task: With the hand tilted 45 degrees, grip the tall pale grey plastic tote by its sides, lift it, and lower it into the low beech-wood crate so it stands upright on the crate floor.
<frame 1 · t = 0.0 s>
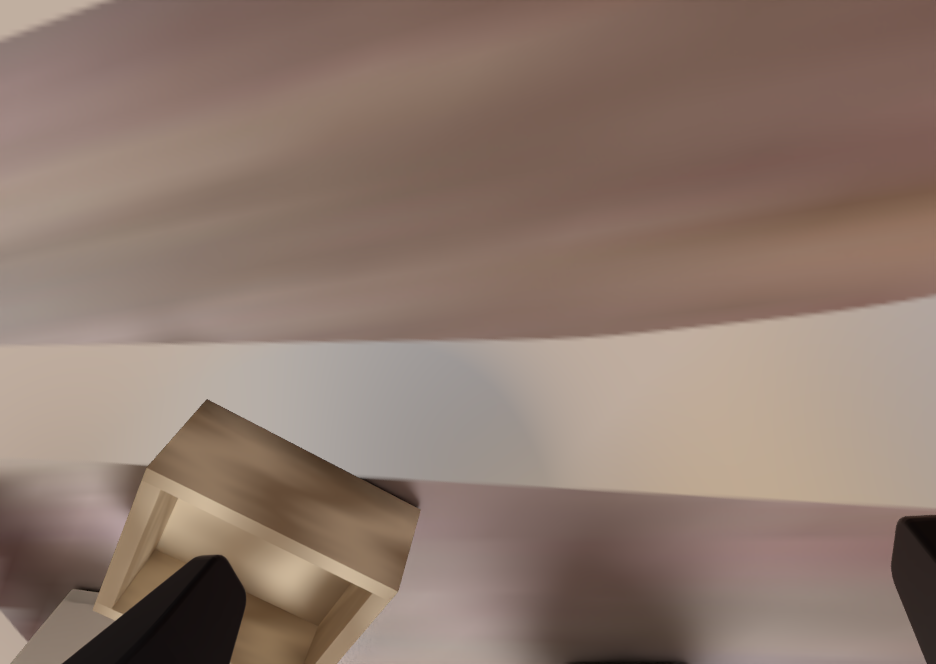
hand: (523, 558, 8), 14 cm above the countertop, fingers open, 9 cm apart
beech crate: (276, 523, 30), on the countertop
grey tote: (136, 629, 37), on the countertop
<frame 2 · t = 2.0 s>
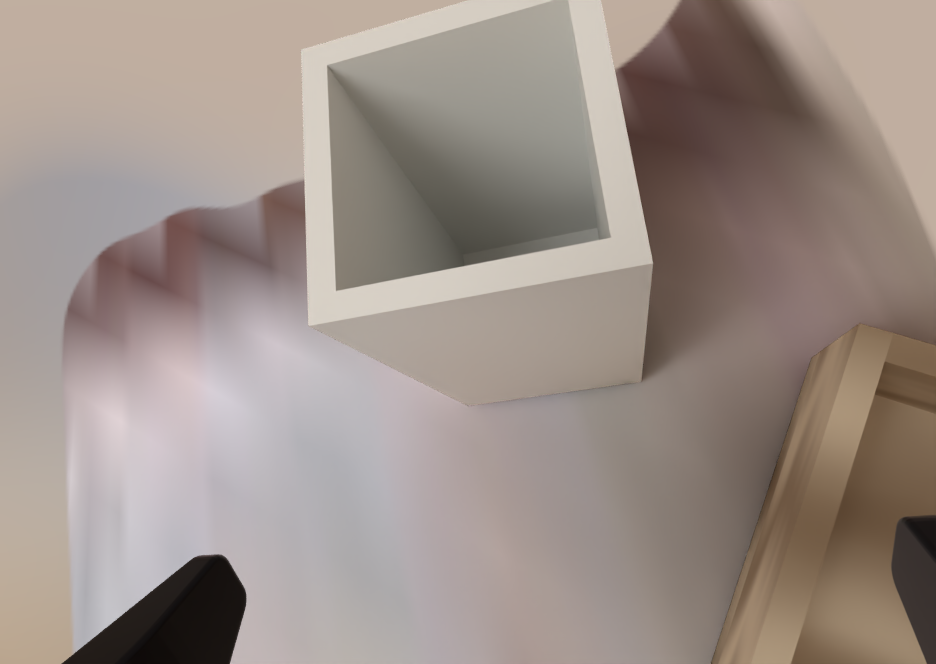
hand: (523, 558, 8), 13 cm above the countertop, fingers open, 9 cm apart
grey tote: (540, 311, 23), on the countertop
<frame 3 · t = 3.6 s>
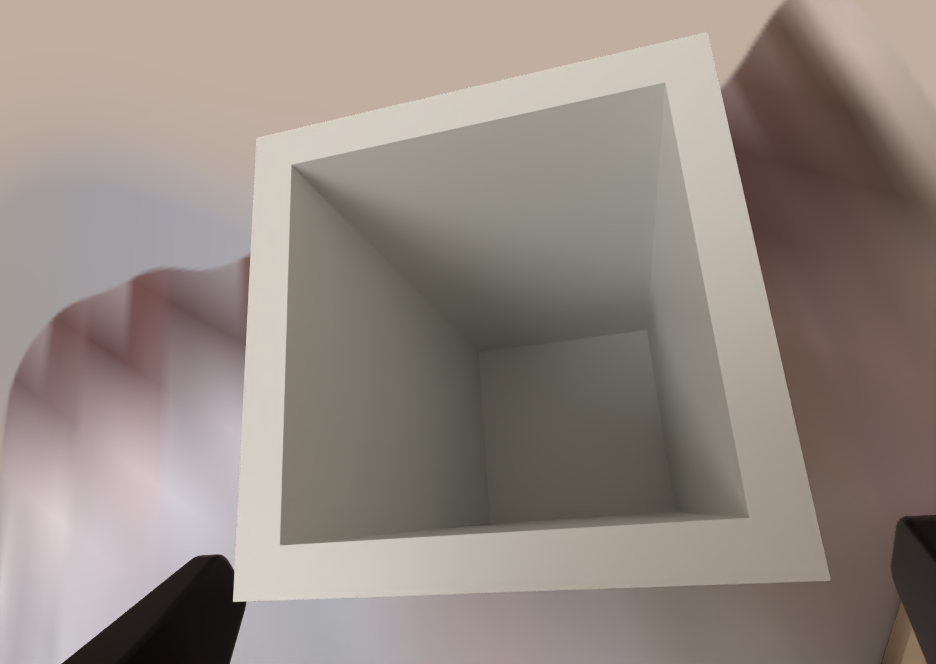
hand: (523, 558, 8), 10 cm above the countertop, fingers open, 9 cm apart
grey tote: (571, 429, 18), on the countertop
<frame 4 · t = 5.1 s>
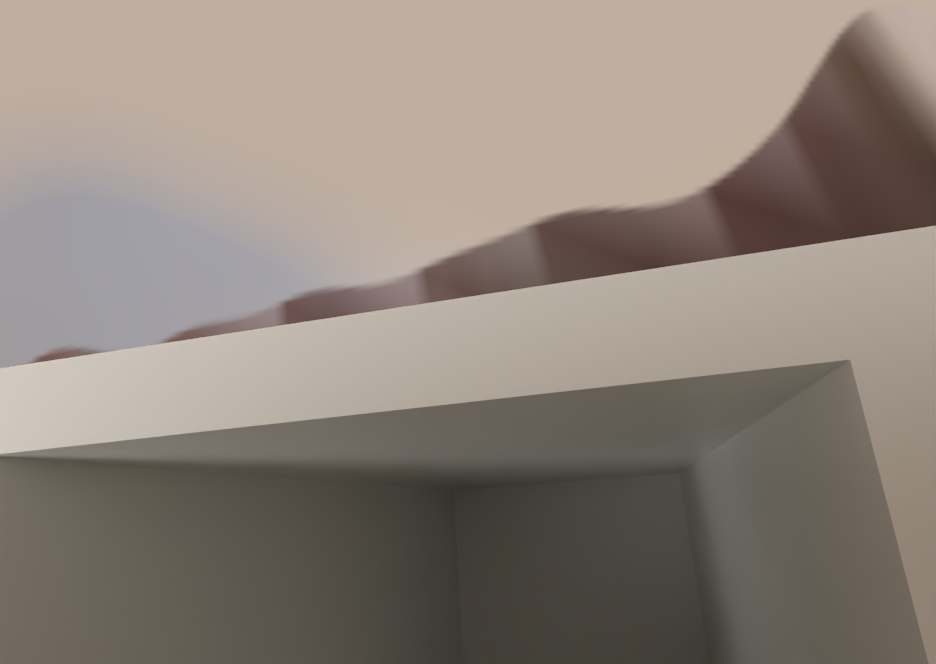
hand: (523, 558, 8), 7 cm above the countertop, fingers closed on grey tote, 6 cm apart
grey tote: (577, 598, 14), on the countertop, touching gripper
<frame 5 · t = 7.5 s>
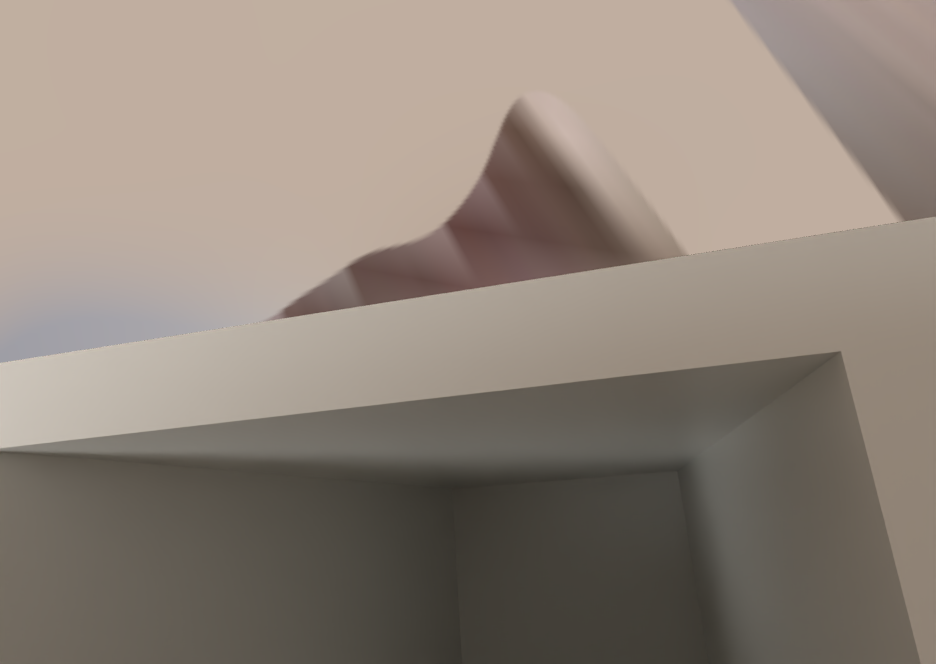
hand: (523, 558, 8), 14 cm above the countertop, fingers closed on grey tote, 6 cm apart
grey tote: (576, 597, 14), point 7 cm above the countertop, touching gripper
when the fingers open (9 cm above the countertop, at t = 9.7 s): grey tote drops 1 cm, resting on beech crate.
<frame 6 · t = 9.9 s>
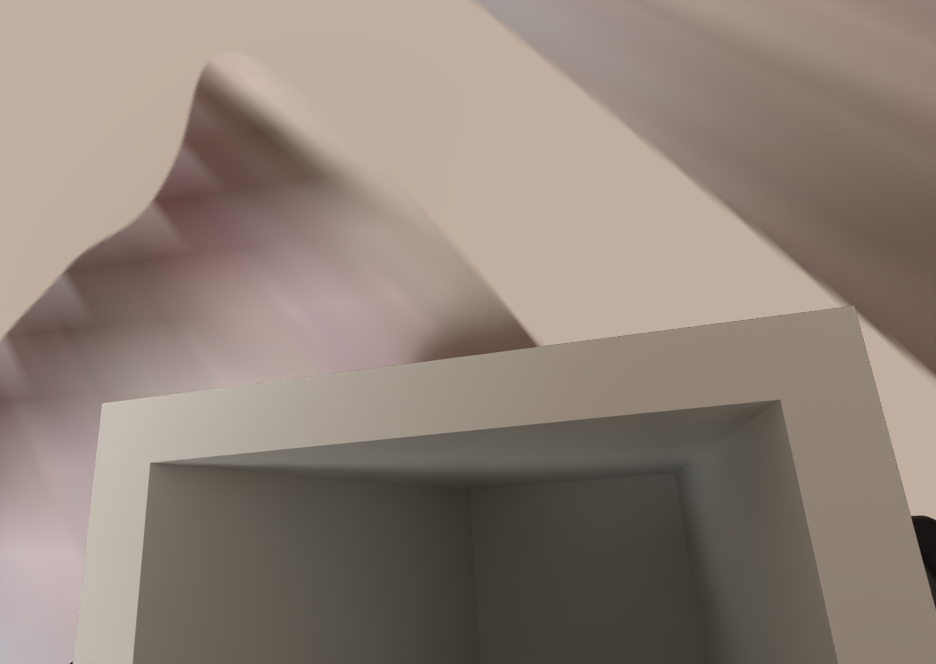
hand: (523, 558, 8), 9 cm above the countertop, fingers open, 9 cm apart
grey tote: (582, 587, 15), point 1 cm above the countertop, touching beech crate
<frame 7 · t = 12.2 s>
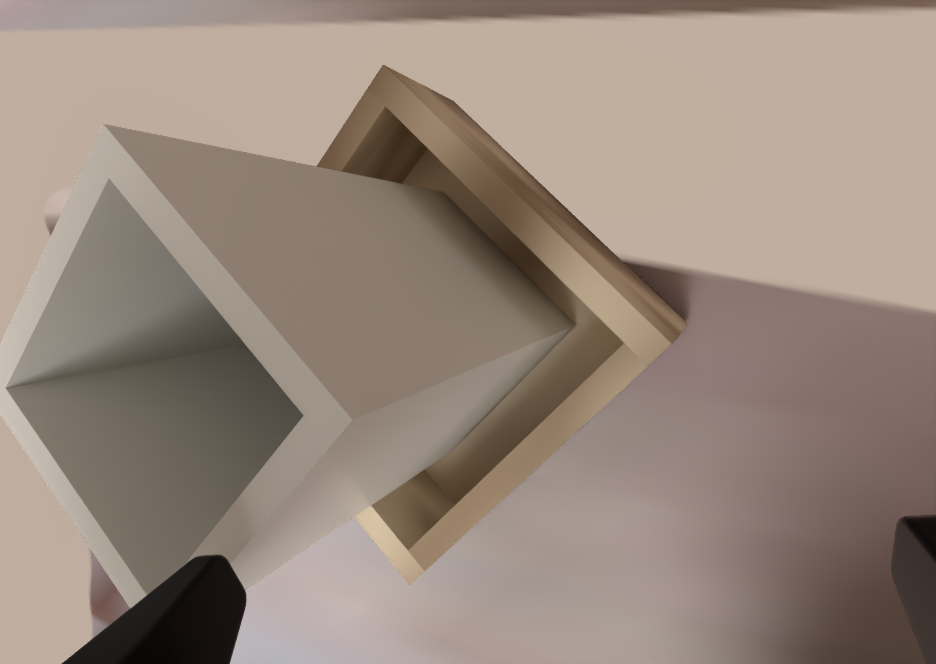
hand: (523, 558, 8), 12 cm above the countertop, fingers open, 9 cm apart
beech crate: (461, 322, 22), on the countertop
grey tote: (449, 323, 21), point 1 cm above the countertop, touching beech crate
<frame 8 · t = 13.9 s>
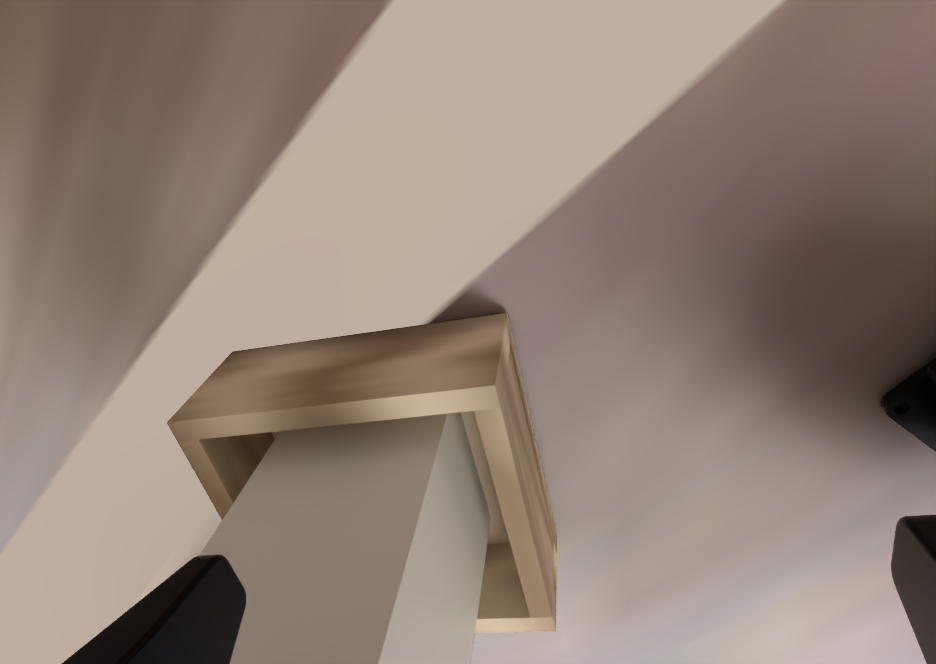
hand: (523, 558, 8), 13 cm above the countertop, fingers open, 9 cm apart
beech crate: (402, 448, 25), on the countertop
grey tote: (395, 464, 24), point 1 cm above the countertop, touching beech crate
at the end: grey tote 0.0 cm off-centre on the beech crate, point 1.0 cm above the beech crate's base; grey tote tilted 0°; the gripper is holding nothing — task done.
